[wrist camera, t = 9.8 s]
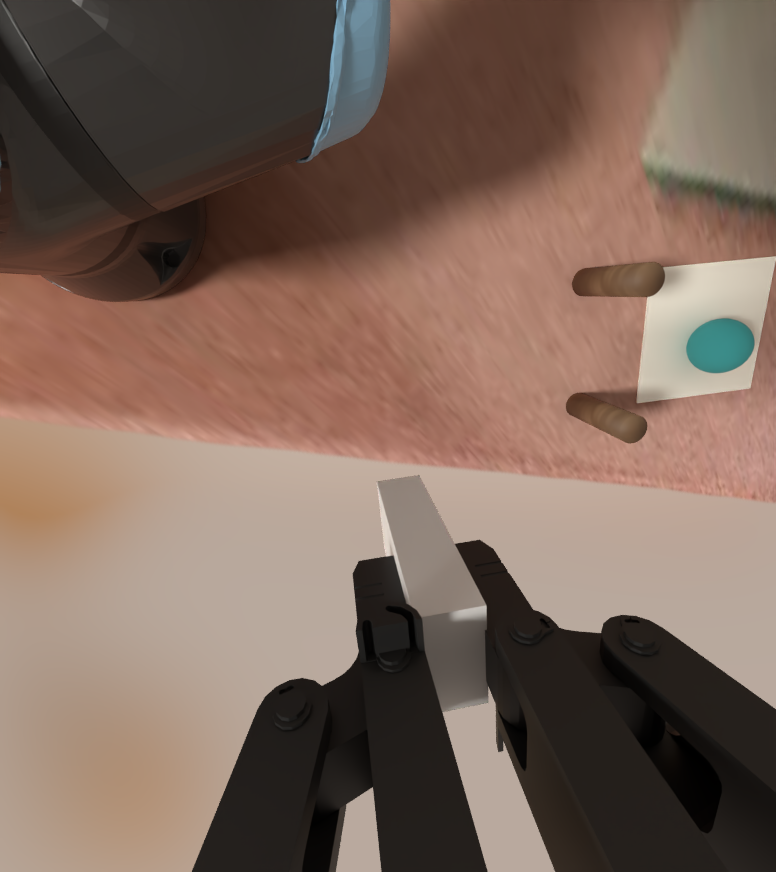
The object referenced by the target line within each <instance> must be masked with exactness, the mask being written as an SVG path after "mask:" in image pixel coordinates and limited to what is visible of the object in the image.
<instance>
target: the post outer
mask: <svg viewBox="0 0 776 872" xmlns="http://www.w3.org/2000/svg"><path fill="white" fill-rule="evenodd" d="M566 410H567V412H568V413H569V414H570V415H572V416H574V417H576V418H578V419H580V420H582V421H584V422H586V423H588V424H590V425H592V426H594V427H596V428H598V429H600V430H602V431H604V432H606V433H608V434H610V435H612V436H614V437H616V438H618V439H620V440H622V441H624V442H626V443H635V442H637V441H639V440H640V439H641V438H642V437H643V436H644V435H645V433H646V430H647V422H646V420H645V419H644V418H643V417H641V416H639V415H636V414H634V413H631V412H629V411H626V410H624V409H621V408H618V407H616V406H613V405H611V404H608V403H606V402H603V401H600V400H598V399H595V398H593V397H590V396H588V395H585V394H583V393H576V394H573V395H572V396H571V397H570V398H569V399H568V401H567V403H566Z"/></svg>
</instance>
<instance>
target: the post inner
mask: <svg viewBox="0 0 776 872" xmlns="http://www.w3.org/2000/svg"><path fill="white" fill-rule="evenodd" d="M664 281H665V271H664V269H663V267H662V266H661V265H660V264H659V263H656V262H648V263H637V264H627V265H616V266H605V267H595V268H585V269H582V270H580V271H578V272H577V273H576V275H575V276H574V278H573V282H572V287H573V290H574V292H575V293H576V294H577V295H579V296H610V297H650V296H653V295H655V294H656V293H657V292H658V291H659V290H660V289H661V288H662V286H663V284H664Z"/></svg>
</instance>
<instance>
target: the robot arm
mask: <svg viewBox="0 0 776 872" xmlns="http://www.w3.org/2000/svg"><path fill="white" fill-rule="evenodd" d="M389 44H390V0H0V273H12V274H32V275H41V276H42V277H44V278H45V279H47V280H48V281H50V282H51V283H53V284H55V285H56V286H58V287H60V288H62V289H64V290H67V291H69V292H71V293H74V294H77V295H80V296H83V297H86V298H90V299H95V300H101V301H110V302H125V301H139V300H144V299H149V298H152V297H155V296H158V295H160V294H162V293H164V292H166V291H168V290H170V289H171V288H173V287H174V286H175V285H177V284H178V283H179V282H180V281H181V280H182V279H183V278H184V277H185V276H186V275H187V274H188V273H189V272H190V270H191V269H192V267H193V266H194V264H195V262H196V260H197V258H198V256H199V254H200V251H201V249H202V245H203V242H204V237H205V230H206V209H205V201H204V196H206V195H209V194H211V193H214V192H216V191H219V190H221V189H224V188H227V187H229V186H232V185H234V184H237V183H239V182H242V181H244V180H247V179H250V178H252V177H255V176H257V175H260V174H262V173H265V172H268V171H270V170H273V169H275V168H278V167H280V166H283V165H286V164H288V163H291V162H293V161H296V162H298V163H305V162H308V161H310V160H312V158H313V157H315V156H317V155H318V153H319V152H320V151H322V150H324V149H326V148H328V147H330V146H333V145H335V144H337V143H339V142H342V141H344V140H346V139H348V138H351V137H353V136H355V135H356V134H358V133H359V132H360V131H361V130H362V129H363V128H364V127H365V126H366V124H367V123H368V122H369V121H370V119H371V117H372V116H373V115H374V114H375V112H376V110H377V108H378V105H379V102H380V99H381V96H382V93H383V89H384V84H385V79H386V74H387V67H388V57H389ZM377 487H378V496H379V505H380V514H381V523H382V531H383V540H384V548H385V553H386V557H380V558H374V559H369V560H362V561H359V562H358V564H357V566H356V568H355V570H354V572H353V581H354V591H355V602H356V611H357V626H356V636H357V643H358V649H359V653H358V656H357V659H356V660H355V662H354V663H353V665H352V666H351V667H350V669H349V670H347V671H346V672H345V673H344V674H343V675H341V676H340V677H338V678H336V679H335V680H333V681H331V682H329V683H327V684H325V685H323V686H321V685H320V684H318V683H317V682H316V681H314V680H309V679H304V678H300V679H294V680H289V681H287V682H285V683H283V684H281V685H279V686H277V687H276V688H274V690H272V691H271V692H270V693H269V694H268V695H267V696H266V697H265V698H264V700H263V701H262V703H261V705H260V706H259V708H258V710H257V712H256V715H255V717H254V719H253V722H252V724H251V727H250V729H249V732H248V734H247V737H246V739H245V742H244V744H243V747H242V749H241V752H240V754H239V756H238V759H237V761H236V764H235V767H234V769H233V771H232V774H231V777H230V779H229V781H228V784H227V786H226V789H225V791H224V794H223V796H222V798H221V801H220V803H219V806H218V808H217V811H216V813H215V816H214V819H213V821H212V823H211V826H210V828H209V831H208V833H207V835H206V838H205V840H204V843H203V845H202V848H201V850H200V853H199V855H198V858H197V860H196V863H195V865H194V868H193V870H192V872H336V866H337V860H338V854H339V848H340V842H341V835H342V829H343V823H344V817H345V811H346V804H347V803H349V802H350V801H352V800H353V799H355V798H357V797H358V796H360V795H361V794H363V793H364V792H366V791H367V790H369V789H370V788H372V787H373V791H374V801H375V811H376V821H377V831H378V841H379V851H380V861H381V870H382V872H487V868H486V865H485V861H484V858H483V854H482V851H481V847H480V843H479V840H478V836H477V833H476V830H475V826H474V822H473V819H472V815H471V812H470V808H469V805H468V801H467V798H466V794H465V791H464V787H463V784H462V780H461V777H460V773H459V770H458V766H457V762H456V759H455V755H454V752H453V748H452V745H451V741H450V738H449V734H448V731H447V727H446V724H445V720H444V717H443V713H442V712H445V711H450V710H455V709H460V708H465V707H470V706H475V705H479V704H484V703H488V687H489V689H490V691H491V694H492V696H493V699H494V701H495V703H496V742H497V748H498V752H501V751H503V741H504V743H505V746H506V748H507V751H508V753H509V756H510V758H511V761H512V763H513V766H514V769H515V771H516V774H517V776H518V779H519V781H520V784H521V786H522V789H523V791H524V794H525V796H526V799H527V801H528V804H529V806H530V809H531V811H532V814H533V817H534V819H535V822H536V824H537V827H538V829H539V832H540V834H541V837H542V839H543V842H544V844H545V847H546V849H547V852H548V854H549V857H550V859H551V862H552V864H553V867H554V870H555V872H776V709H775V708H773V707H772V706H770V705H769V704H768V703H766V702H765V701H764V700H762V699H761V698H759V697H758V696H757V695H755V694H754V693H752V692H751V691H750V690H748V689H747V688H745V687H744V686H743V685H741V684H740V683H739V682H737V681H736V680H734V679H733V678H732V677H730V676H729V675H727V674H726V673H725V672H723V671H722V670H721V669H719V668H717V667H716V666H715V665H714V664H712V663H711V662H709V661H708V660H707V659H705V658H704V657H702V656H701V655H699V654H698V653H697V652H696V651H694V650H693V649H691V648H690V647H689V646H687V645H686V644H684V643H683V642H681V641H680V640H679V639H677V638H676V637H675V636H673V635H672V634H670V633H669V632H668V631H666V630H665V629H663V628H662V627H660V626H658V625H657V624H655V623H653V622H651V621H650V620H647V619H643V618H640V617H637V616H628V615H620V616H615V617H611V618H610V619H608V620H607V621H606V622H605V623H604V624H603V628H602V631H601V633H590V632H578V631H571V630H564V629H561V628H559V627H558V626H557V624H556V623H555V622H554V621H553V620H552V619H551V618H550V617H548V616H546V615H544V614H542V613H540V612H539V611H535V610H533V609H532V607H531V606H530V604H529V603H528V601H527V600H526V598H525V597H524V595H523V593H522V592H521V590H520V589H519V587H518V586H517V584H516V583H515V581H514V580H513V578H512V577H511V575H510V574H509V573H508V572H507V569H506V568H505V566H504V565H503V563H501V560H500V558H499V557H498V555H497V554H496V552H495V551H494V549H493V548H491V547H489V546H488V545H486V544H485V543H483V542H482V541H481V540H476V541H470V542H464V543H458V544H454V542H453V540H452V538H451V536H450V534H449V532H448V530H447V528H446V526H445V524H444V522H443V520H442V518H441V517H440V515H439V513H438V511H437V509H436V507H435V505H434V503H433V501H432V499H431V497H430V495H429V494H428V492H427V490H426V488H425V486H424V484H423V482H422V480H421V478H420V476H419V475H418V476H411V477H404V478H397V479H390V480H384V481H378V482H377Z"/></svg>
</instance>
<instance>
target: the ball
mask: <svg viewBox="0 0 776 872" xmlns="http://www.w3.org/2000/svg"><path fill="white" fill-rule="evenodd" d="M754 345H755V340H754V335H753V333H752V331H751V330H750V328H749V327H748V326H746V325H745V324H744V323H742V322H740V321H738V320H734V319H729V318H722V319H715V320H711V321H709V322H706V323H704V324H703V325H701V326H700V327H698V328H697V329H696V330H695V331H694V332H693V333H692V334H691V336H690V338H689V339H688V342H687V346H686V352H687V356H688V359H689V361H690V362H691V363H692V364H693V365H694V366H695V367H696V368H698V369H699V370H702V371H704V372H708V373H724V372H728V371H731V370H734V369H736V368H738V367H739V366H741V365H742V364H744V363H745V362H746V361H747V360H748V358H749V357H750V356H751V354H752V352H753V349H754Z"/></svg>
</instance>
